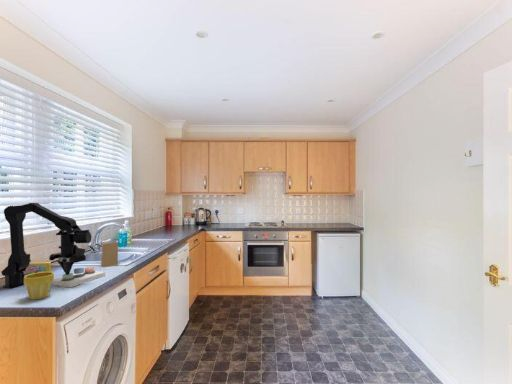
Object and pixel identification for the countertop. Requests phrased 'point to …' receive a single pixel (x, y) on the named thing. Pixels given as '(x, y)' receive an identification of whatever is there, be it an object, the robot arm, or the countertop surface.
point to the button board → (78, 279)
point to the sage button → (67, 276)
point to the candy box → (38, 267)
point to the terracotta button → (89, 269)
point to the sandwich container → (110, 254)
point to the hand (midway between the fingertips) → (67, 274)
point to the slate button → (78, 270)
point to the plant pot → (38, 284)
